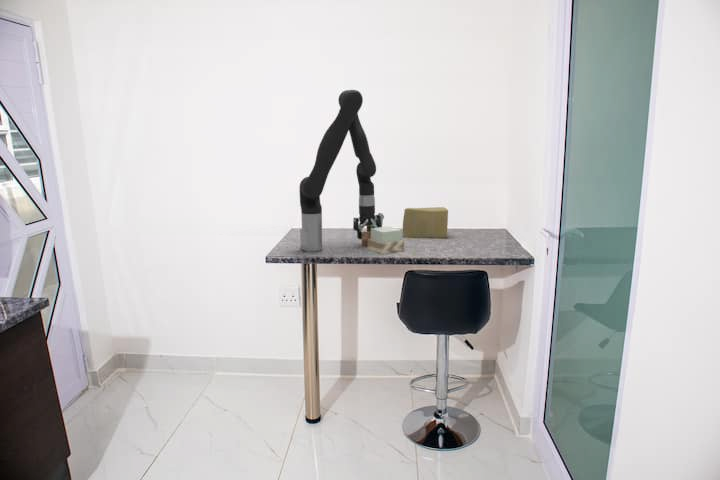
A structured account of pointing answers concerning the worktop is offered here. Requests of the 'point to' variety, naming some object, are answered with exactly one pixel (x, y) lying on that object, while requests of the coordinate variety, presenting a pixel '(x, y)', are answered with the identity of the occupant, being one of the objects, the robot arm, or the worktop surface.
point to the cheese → (425, 222)
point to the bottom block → (385, 246)
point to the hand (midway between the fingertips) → (367, 237)
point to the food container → (375, 222)
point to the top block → (385, 234)
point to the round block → (365, 238)
